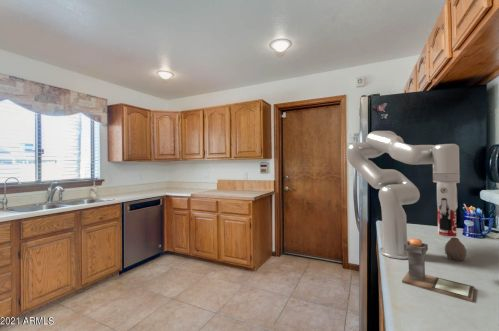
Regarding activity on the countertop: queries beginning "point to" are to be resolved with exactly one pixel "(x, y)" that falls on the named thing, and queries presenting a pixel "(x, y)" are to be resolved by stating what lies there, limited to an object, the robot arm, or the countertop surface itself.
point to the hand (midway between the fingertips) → (446, 227)
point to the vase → (455, 249)
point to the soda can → (453, 232)
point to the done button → (416, 242)
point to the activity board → (429, 282)
